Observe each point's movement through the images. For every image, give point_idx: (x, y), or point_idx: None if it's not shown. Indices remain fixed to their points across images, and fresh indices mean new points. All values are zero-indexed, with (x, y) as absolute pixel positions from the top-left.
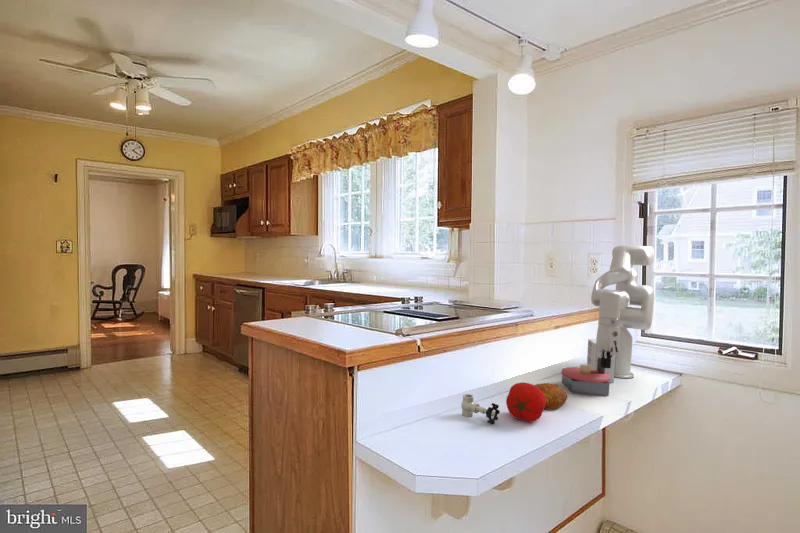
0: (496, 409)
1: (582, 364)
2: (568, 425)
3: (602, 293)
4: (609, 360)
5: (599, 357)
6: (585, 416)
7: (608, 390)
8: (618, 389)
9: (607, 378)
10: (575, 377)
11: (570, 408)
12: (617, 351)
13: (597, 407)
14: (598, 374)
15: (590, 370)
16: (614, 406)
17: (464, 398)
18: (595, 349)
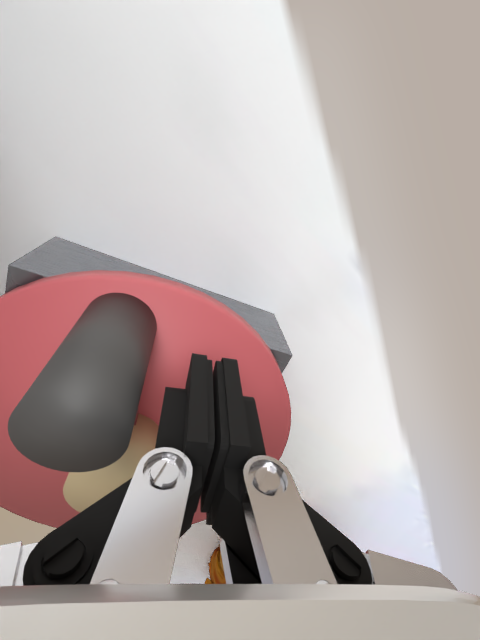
0: None
1: (66, 496)
2: (419, 554)
3: None
4: (262, 454)
5: (11, 433)
6: (402, 507)
7: (279, 331)
8: (166, 125)
9: (282, 377)
10: (205, 514)
11: (337, 513)
12: (475, 617)
13: (367, 444)
14: (170, 374)
15: (152, 447)
16: (389, 384)
17: None
18: None
